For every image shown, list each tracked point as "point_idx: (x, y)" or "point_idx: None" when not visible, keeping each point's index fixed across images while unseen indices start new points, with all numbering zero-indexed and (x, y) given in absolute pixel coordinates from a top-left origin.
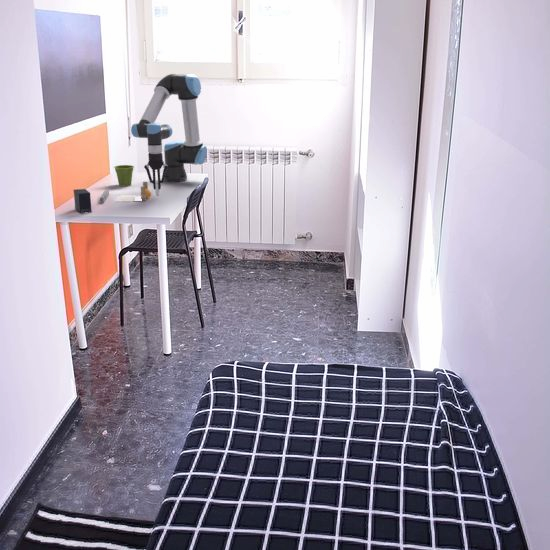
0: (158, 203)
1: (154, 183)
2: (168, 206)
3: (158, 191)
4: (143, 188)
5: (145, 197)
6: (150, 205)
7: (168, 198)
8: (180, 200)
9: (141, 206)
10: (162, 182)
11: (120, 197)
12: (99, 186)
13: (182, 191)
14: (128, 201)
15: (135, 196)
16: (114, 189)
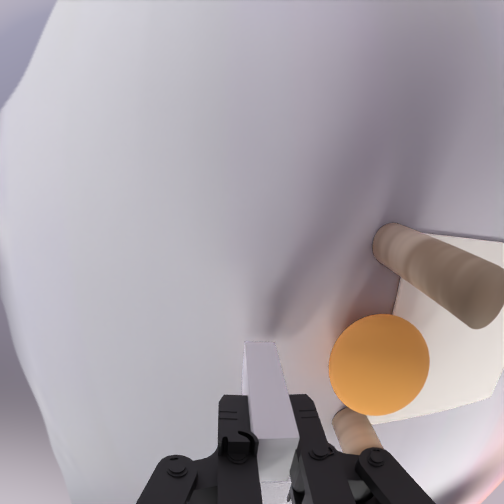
0: (245, 125)
1: (314, 445)
2: (146, 4)
3: (247, 370)
4: (477, 261)
5: (395, 243)
6: (329, 57)
7: (148, 333)
8: (34, 240)
9: (405, 47)
10: (175, 456)
11: (501, 356)
12: (474, 499)
13: (94, 481)
14: (492, 241)
15: (423, 391)
16: (453, 488)
